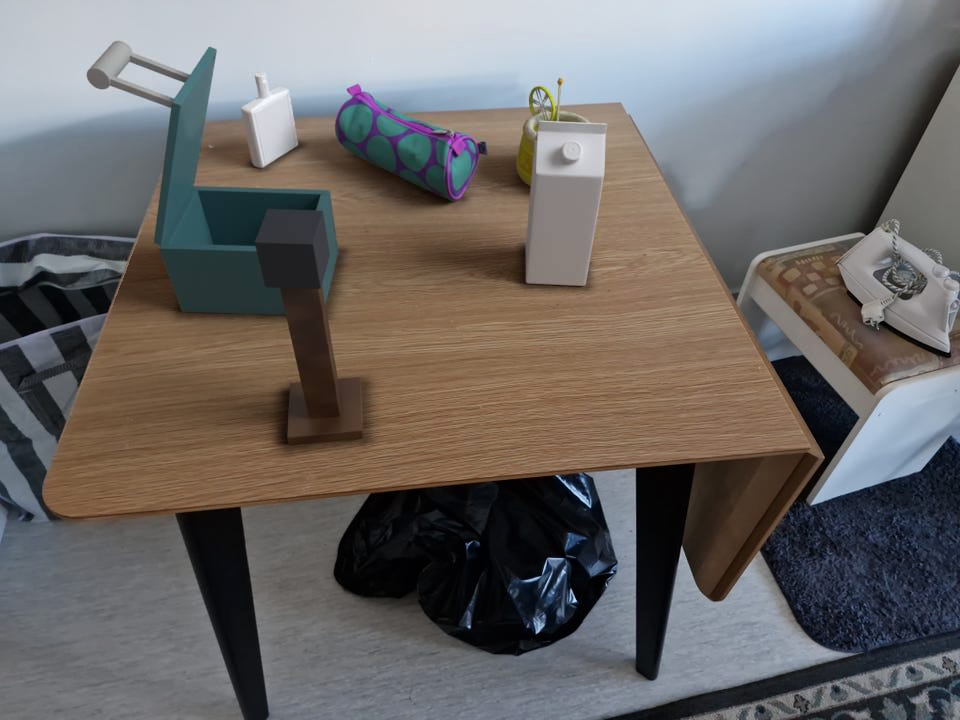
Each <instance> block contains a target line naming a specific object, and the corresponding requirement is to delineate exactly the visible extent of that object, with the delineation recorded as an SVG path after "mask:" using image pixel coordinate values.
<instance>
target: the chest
mask: <svg viewBox="0 0 960 720" xmlns="http://www.w3.org/2000/svg"><path fill="white" fill-rule="evenodd" d="M267 209H284V210H317V211H323V214H324V220H325V227H326V233H327V240H328V246H329V253H330V256H329V260H328V264H327V268H326V271H325V275H324V279H323V283H322V288H323V294H324V300H325V306H326V304H327V301H328V296H329V293H330V288H331V284H332V281H333V276H334V273H335V269H336V265H337V264H336V263H337V259H338V256H339V253H340V252H339V251H340V250H339V245H338V239H337V238H338V237H337V232H336V224H335V217H334V210H333V203H332V196H331V190H329V189H304V188H303V189H302V188H300V189H299V188H274V187H273V188H271V187H241V186H240V187H239V186H237V187H236V186H210V185H209V186H204V185H193V187H192V189H191V191H190V193H189V195H188V196H187V198H186V200H185V202H184V204H183V206H182V208H181V210H180V211H179V213H178V215H177V217H176V219H175V221H174V223H173V225H172V227H171V228H170V230H169V232H168V234H167V236H166V238H165V240H164V242H163V243H162V245H159V246H158V250H159V253H160V255H161V258H162V261H163V264H164V266H165V269H166V272H167V274H168V275H167V276H168V277H169V280H170V282H171V285H172V288H173V291H174V293H175V296H176V299H177V302H178V305H179V308H180V311H181V312H182V313H200V314H201V313H204V314H207V313H208V314H233V315H234V314H236V315H238V314H240V315H267V316H268V315H271V316H272V315H273V316H286V314H285V309H284V305H283V300H282V296H281V291H280V288H271V287H265V283H264V279H263V275H262V271H261V267H260V263H259V259H258V255H257V250H256V246H255V240H256V237H257V235H258V232H259V230H260V227H261V224H262V222H263V219H264V217H265V214H266V211H267Z"/></svg>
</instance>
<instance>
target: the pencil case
mask: <svg viewBox="0 0 960 720" xmlns="http://www.w3.org/2000/svg"><path fill="white" fill-rule="evenodd" d="M361 87H362V86H361V85H360V84H359V83H356V84H354V85H352V86H350V87H347V88H346V92H347V93H348V94H349V95H350V96H351V98H349V99H348V100H346V101H345V102H344V103H343V104H342V105H341V106H340V108H339V110H338V112H337V115H336V118H335V123H334V132H335V136H336V139H337V141H338V143H339V144H340V145H341V147H343V148H344V149H345V150H346V151H348V152H349V153H351V154H352V155H353V156H355V157H357V158H360V159H362V160H364V161H366V162H368V163H370V164H372V165H374V166H376V167H379V168H381V169H383V170H385V171H387V172H390V173H391V174H393V175H396V176H398V177H399V178H401V179H404V180H405V181H407V182H408V183H409V182H410V183H411V184H413V185H415V186H418V187H420V188H422V189H424V190H427V191H429V192H431V193H433V194H435V195H438V196H440V197H442V198H445V199H448V200H449V201H451V202H456V201H459V200H460V199H461V198H462V197H463V195H464V194H465V192H466V190H467V189H468V187H469V186H470V184H471V182H472V180H473V178H474V176H475V173H476V171H477V167H478V165H479V160H480V155H483V156H488V148H487V142H486V141H484V140H483V141H479V142H477V141H476V139H475V138H474V137H473V136H472V135H470V134H468V133H465V132H462V131H461V132H460V131H455V130H452V129H446V128H443V127H441V126H438V125H437V126H436V125H432V124H430V123H429V122H427V121H423V120H420V119H416V118H413V117H410V116H408V115H407V114H406V115H405V114H402V113H401V112H399V111H397V110H394V109H392V108H391V107H388V106H387V105H385V104H383V103H381V101H378V100H377V99H375V97H374V96H373V95H372V94H370V93H369V92H367V91H362V88H361Z"/></svg>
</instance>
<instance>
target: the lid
mask: <svg viewBox="0 0 960 720" xmlns="http://www.w3.org/2000/svg"><path fill="white" fill-rule="evenodd" d="M217 53H218V50H217V48H214V47H212V46H208V47H207V49H206V50H205V51H204V54H203V55H202V56H201V58H200V60H198V62H197V64H196V65H195V67H194V68H193V69H192V72H190V73H187V72H184V71H182V70H179V69H176V68H174V67H171V66H169V65H166V64H164V63H161V62H158V61H156V60H153V59H150V58H148V57H146V56H142V55H140V54H138V53H135V52H133V50H132V48H131V46H130V45H129V44H128V43H126V42H124V41H122V40H115V41H113V42H112V43H111V44H110V45H109V46H108V47H107V49H105V51H104V52H103V53H102V54H101V55H100V56H99V57H98V58H97V59H96V61H94V63H93V64H92V65H91V66H90V68H89V69H88V70H87V71H86V79H87V81H88V82H89V84H90V85H91V86H92V87H94V88H95V89H98V90H106V89H108V88H110V87H112V88H115V89H118V90H121V91H124V92H126V93H128V94H132V95H134V96H137V97H139V98H142V99H145V100H147V101H151V102H153V103H156V104H159V105H161V106H164V107H167V108H169V109H170V114H169V121H168V129H167V137H166V145H165V153H164V160H163V167H162V169H163V170H162V175H161V184H160V191H159V198H158V206H157V212H156V213H157V215H156V222H155V229H154V238H153V244H155V245H158V246H160V245H162V243H163V242H164V240H165V238H166V236H167V234H168V232H169V230H170V228H171V227H172V225H173V223H174V221H175V219H176V217H177V215H178V213H179V211H180V210H181V208H182V206H183V204H184V202H185V200H186V198H187V196H188V195H189V193H190V191H191V189H192V187H193V186H195V183H196V178H197V170H198V164H199V160H200V159H199V158H200V153H201V146H202V141H203V135H204V129H205V125H206V124H205V123H206V119H207V118H206V117H207V111H208V105H209V99H210V93H211V88H212V82H213V76H214V70H215V64H216V58H217ZM129 63H131V64H133V65H136V66H139V67H142V68H144V69H147V70H149V71H152V72H155V73H158V74H160V75H163V76H166V77H168V78H170V79H173V80H176V81H179V82H181V83H183V85H182V86H181V88H180V90H179V91H178V93H177V94H176V95H175V96H174V97H171V96H168V95H166V94H163V93H160V92H158V91H155V90H153V89H150V88H147V87H144V86H142V85H140V84H136V83H133V82H131V81H128V80H125V79H123V78H120V77H118V76H119V75H120V74H121V73H122V72H123V70H124V69H125V68H126V67H127V65H129Z"/></svg>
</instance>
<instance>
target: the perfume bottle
mask: <svg viewBox="0 0 960 720" xmlns="http://www.w3.org/2000/svg"><path fill="white" fill-rule="evenodd" d="M254 79H255V84H256V89H257V95H258V96H257V97H256V98H254V99H253V100H250V101H249V102H247V103H246V104H244V105H242V106H241V107H240V112H241V117H242V121H243V125H244V130H245V135H246V140H247V144H248V149H249V154H250V157H251V162H252V166H254V167H256V168H258V169H263V168H265V167H266V166H269V165H270V164H272V163H274V161H276V160H278V159H280V157H282V156H284V155H286V154H287V153H288V152H290V151H292V150H294V149H295V148H296V147H298V146H299V140H298V136H297V135H298V133H297V129H296V123H295V117H294V111H293V104H292V100H291V93H290V91H289V89H288V88H286V87H283V86H277V87H275V88H273V89H271V90H270V86H269V81H268V76H267V73H266V72H265V71H258V72H257V73H255V74H254Z"/></svg>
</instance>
